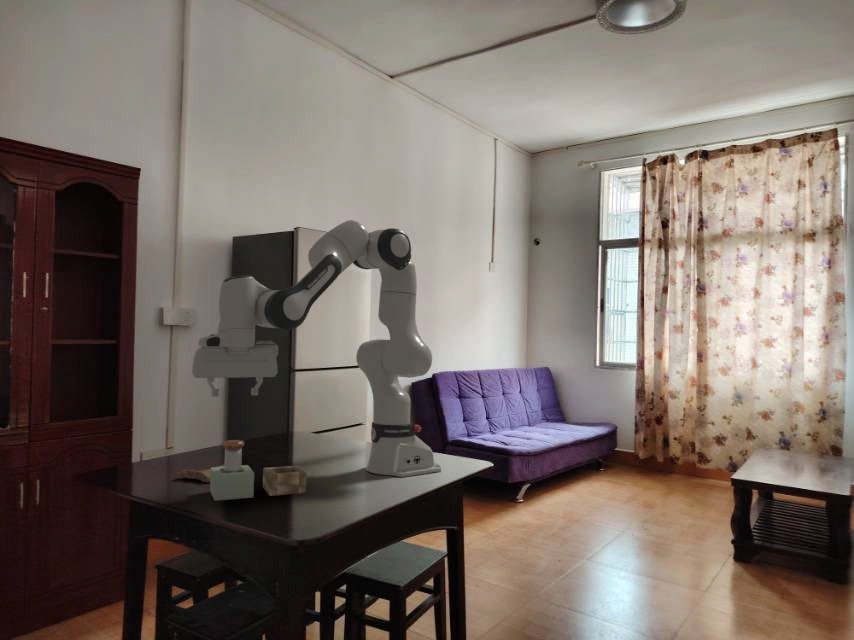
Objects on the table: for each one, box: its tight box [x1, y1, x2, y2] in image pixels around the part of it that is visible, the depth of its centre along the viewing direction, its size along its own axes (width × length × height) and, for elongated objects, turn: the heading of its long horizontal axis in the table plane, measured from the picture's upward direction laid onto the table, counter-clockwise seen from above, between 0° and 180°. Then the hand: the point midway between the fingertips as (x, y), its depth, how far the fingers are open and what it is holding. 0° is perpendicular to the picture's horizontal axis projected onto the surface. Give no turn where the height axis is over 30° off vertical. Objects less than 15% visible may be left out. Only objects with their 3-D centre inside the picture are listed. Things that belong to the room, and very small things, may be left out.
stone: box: [177, 463, 224, 483], centre depth 169 cm, size 11×16×3 cm
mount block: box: [262, 465, 307, 497], centre depth 157 cm, size 9×9×5 cm
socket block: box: [209, 464, 255, 502], centre depth 152 cm, size 9×9×6 cm
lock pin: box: [222, 439, 245, 473], centre depth 152 cm, size 5×5×13 cm
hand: (234, 395), depth 152 cm, fingers open, 8 cm apart
